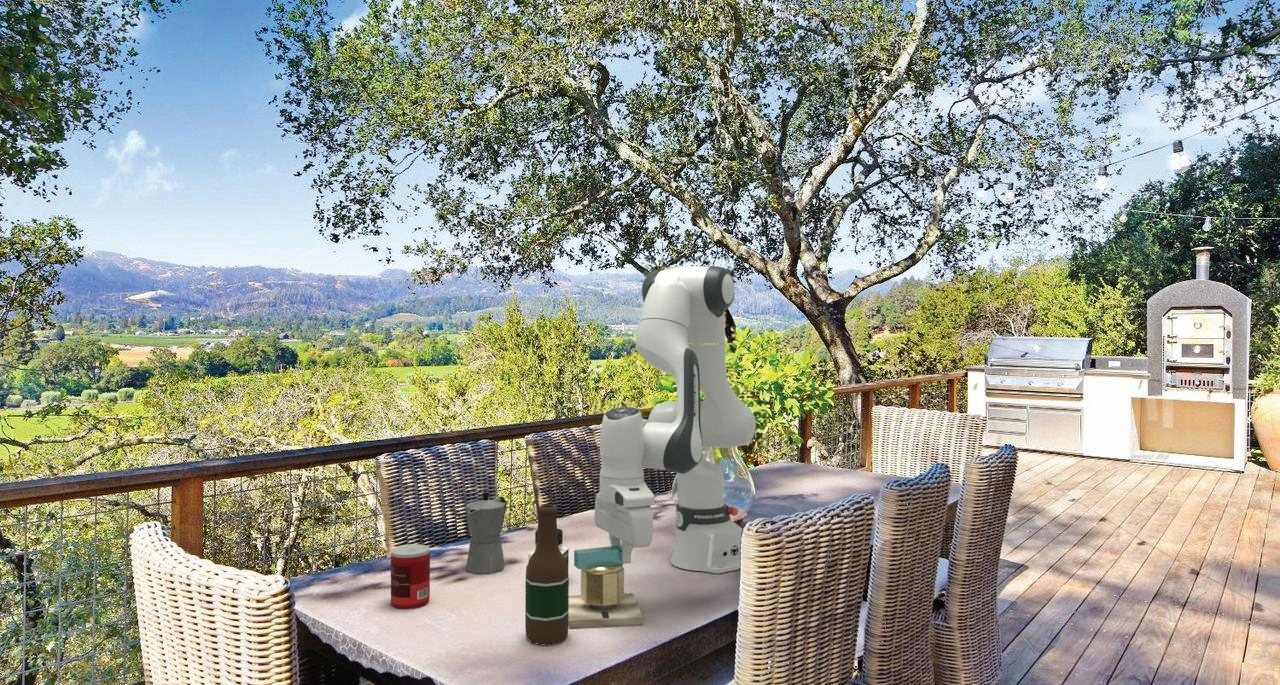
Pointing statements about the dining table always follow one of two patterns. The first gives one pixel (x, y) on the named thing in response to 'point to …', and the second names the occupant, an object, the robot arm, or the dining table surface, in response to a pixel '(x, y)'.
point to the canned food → (410, 576)
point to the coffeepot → (485, 535)
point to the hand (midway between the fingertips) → (621, 559)
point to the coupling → (601, 575)
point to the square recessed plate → (604, 613)
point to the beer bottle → (547, 584)
